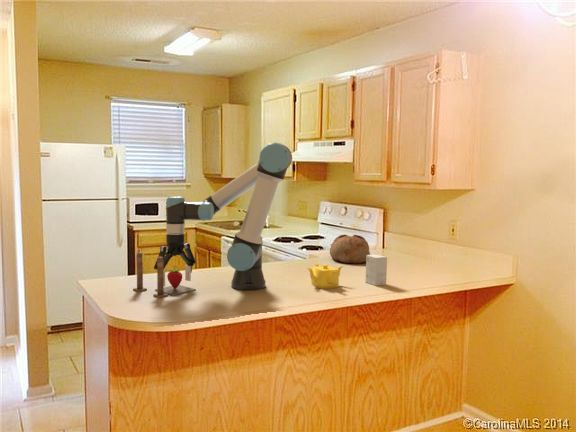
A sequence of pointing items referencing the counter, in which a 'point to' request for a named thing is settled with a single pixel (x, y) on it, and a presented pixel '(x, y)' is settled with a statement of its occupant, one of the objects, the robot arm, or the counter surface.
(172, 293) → the slate coaster
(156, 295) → the post
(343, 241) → the bread
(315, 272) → the teapot
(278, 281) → the counter surface
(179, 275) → the strawberry
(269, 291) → the counter surface
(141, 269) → the post
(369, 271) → the small box
